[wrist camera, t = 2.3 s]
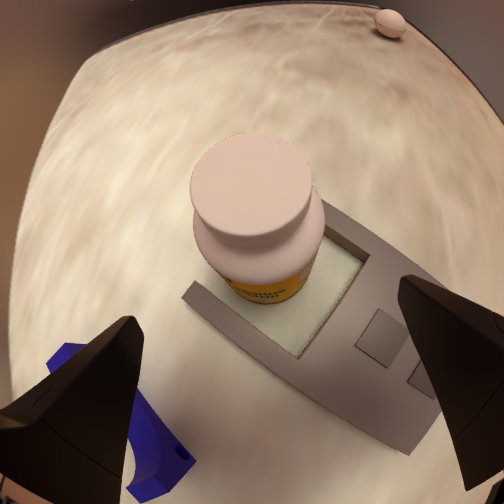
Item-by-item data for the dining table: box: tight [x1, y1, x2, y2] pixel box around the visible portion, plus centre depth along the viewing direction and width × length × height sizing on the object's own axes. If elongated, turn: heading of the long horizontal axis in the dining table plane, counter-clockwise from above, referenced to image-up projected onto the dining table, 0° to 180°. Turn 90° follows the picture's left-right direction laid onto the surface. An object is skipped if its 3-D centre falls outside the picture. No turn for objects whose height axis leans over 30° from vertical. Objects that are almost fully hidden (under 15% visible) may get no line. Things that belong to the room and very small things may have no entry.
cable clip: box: [46, 343, 196, 504], centre depth 15 cm, size 12×4×6 cm, turn 40°
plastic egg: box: [374, 9, 406, 38], centre depth 28 cm, size 8×6×6 cm
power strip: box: [181, 198, 450, 456], centre depth 18 cm, size 12×21×2 cm, turn 52°
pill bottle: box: [190, 133, 325, 304], centre depth 15 cm, size 6×6×12 cm
